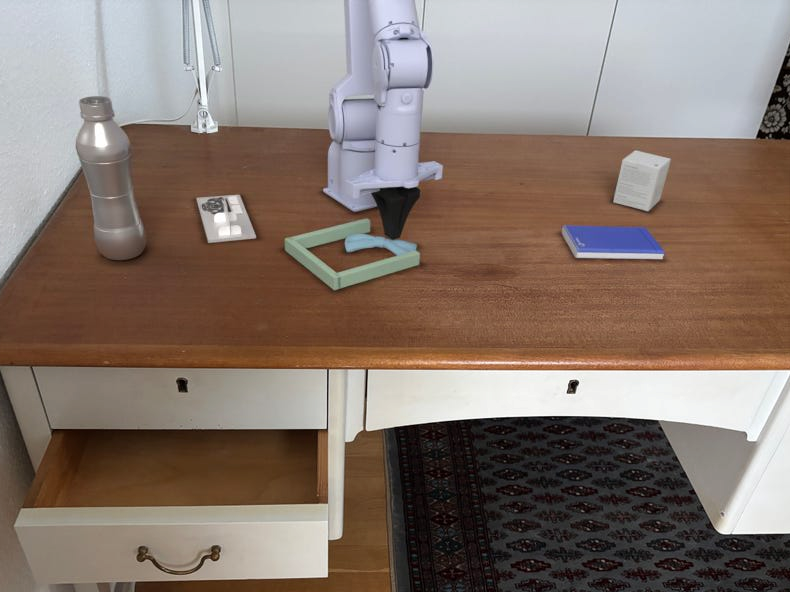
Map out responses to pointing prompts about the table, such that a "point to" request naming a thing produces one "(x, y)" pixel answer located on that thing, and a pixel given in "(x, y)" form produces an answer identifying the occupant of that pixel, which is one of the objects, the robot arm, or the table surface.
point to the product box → (641, 180)
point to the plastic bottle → (109, 180)
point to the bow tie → (378, 244)
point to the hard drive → (611, 242)
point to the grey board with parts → (225, 218)
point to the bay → (352, 276)
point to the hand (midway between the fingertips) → (392, 236)
